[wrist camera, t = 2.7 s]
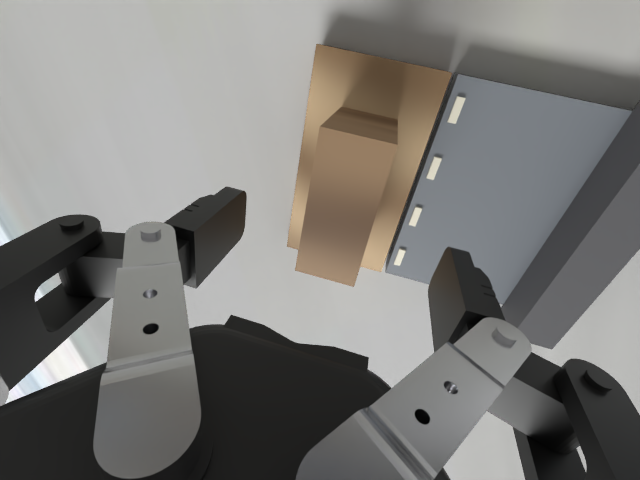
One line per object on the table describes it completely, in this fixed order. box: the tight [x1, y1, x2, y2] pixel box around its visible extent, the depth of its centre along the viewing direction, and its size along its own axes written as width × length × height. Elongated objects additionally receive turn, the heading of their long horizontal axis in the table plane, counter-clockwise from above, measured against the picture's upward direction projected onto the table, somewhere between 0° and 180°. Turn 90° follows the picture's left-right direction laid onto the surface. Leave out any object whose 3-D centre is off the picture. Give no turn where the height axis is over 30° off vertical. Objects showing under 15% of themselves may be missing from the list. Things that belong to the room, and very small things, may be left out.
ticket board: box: [385, 73, 640, 349], centre depth 17 cm, size 13×12×4 cm
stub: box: [287, 44, 452, 287], centre depth 16 cm, size 12×7×7 cm, turn 170°
